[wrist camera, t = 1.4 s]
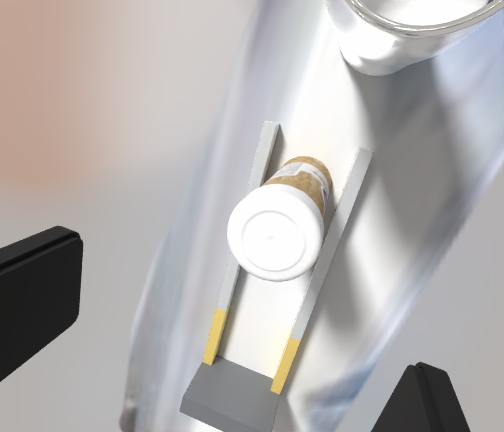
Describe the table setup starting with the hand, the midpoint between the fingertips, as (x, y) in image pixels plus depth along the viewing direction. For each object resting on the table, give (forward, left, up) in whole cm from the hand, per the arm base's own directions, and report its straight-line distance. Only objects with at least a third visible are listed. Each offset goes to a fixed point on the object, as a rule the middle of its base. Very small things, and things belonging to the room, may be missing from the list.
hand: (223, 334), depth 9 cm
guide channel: (+9, 0, -20) cm, 22 cm away
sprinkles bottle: (0, 0, -20) cm, 20 cm away
